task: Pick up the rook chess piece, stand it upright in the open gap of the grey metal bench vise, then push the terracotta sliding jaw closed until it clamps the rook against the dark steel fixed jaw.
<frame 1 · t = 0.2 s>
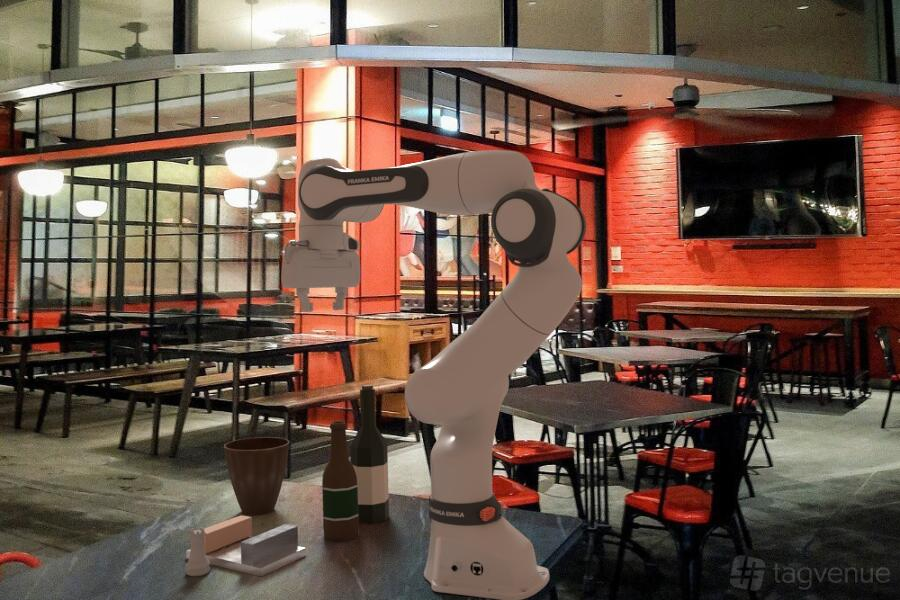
hand: (323, 310, 150), 48 cm above the table, fingers open, 8 cm apart
plant pot: (258, 511, 177), on the table
beer bottle 2: (341, 537, 157), on the table
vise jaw: (224, 533, 149), point 4 cm above the table, slide at 0.0 cm
rook chess piece: (198, 573, 139), on the table
vise base: (246, 556, 146), on the table
wine bottle: (370, 518, 169), on the table
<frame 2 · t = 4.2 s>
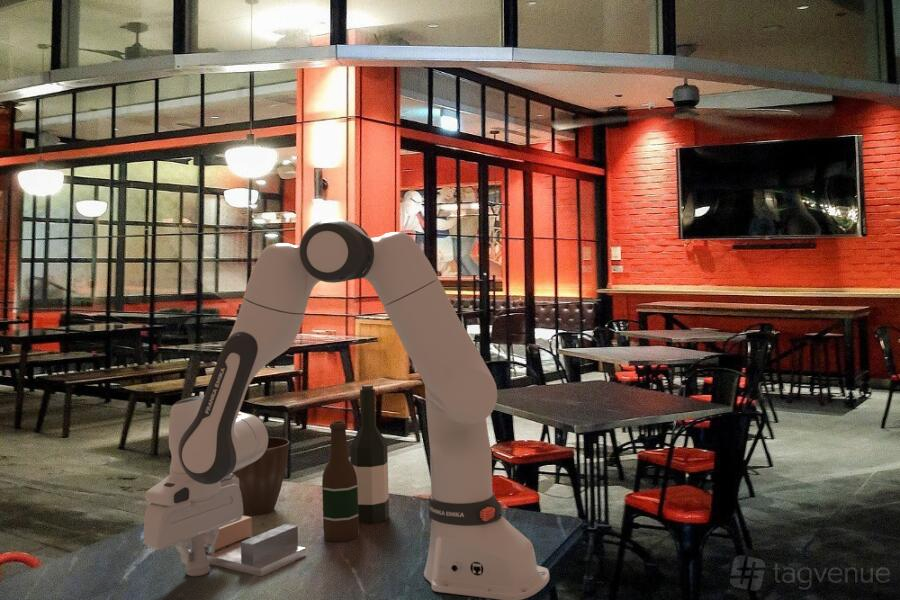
hand: (197, 557, 139), 3 cm above the table, fingers closed on rook chess piece, 3 cm apart
rook chess piece: (198, 573, 139), on the table, touching gripper
everything else where it was.
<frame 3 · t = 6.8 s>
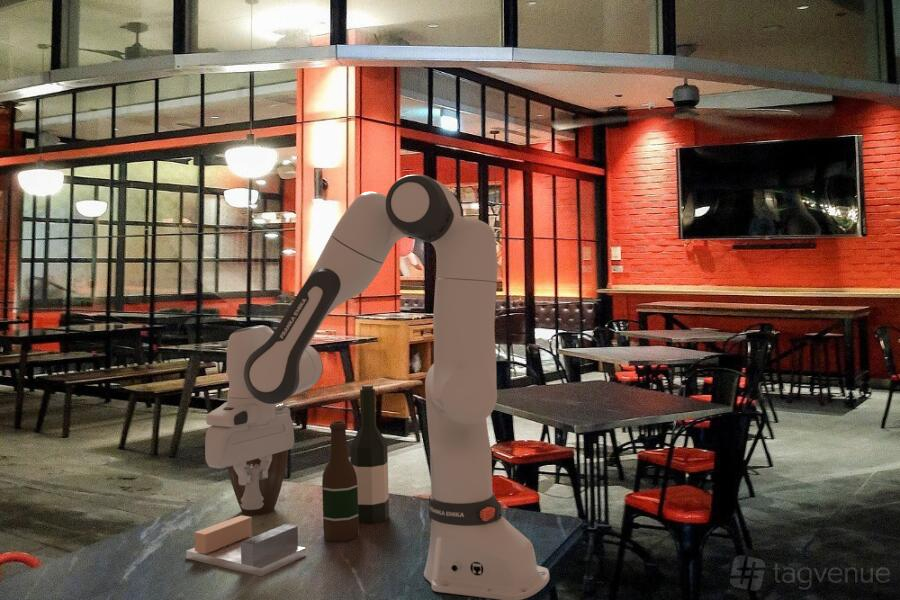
hand: (253, 481, 145), 15 cm above the table, fingers closed on rook chess piece, 3 cm apart
rook chess piece: (252, 508, 144), point 10 cm above the table, touching gripper
everything else where it was.
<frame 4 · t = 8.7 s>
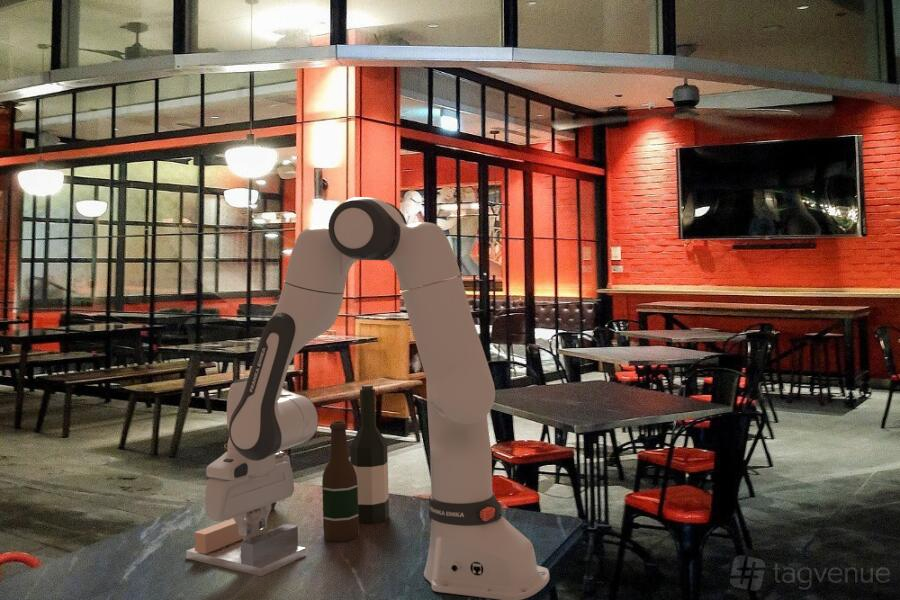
hand: (253, 531, 145), 5 cm above the table, fingers closed on rook chess piece, 3 cm apart
rook chess piece: (252, 552, 144), point 1 cm above the table, touching gripper, vise base
everything else where it was.
when the fingers open (5 cm above the table, at t = 8.7 s): rook chess piece stays where it is, resting on vise base.
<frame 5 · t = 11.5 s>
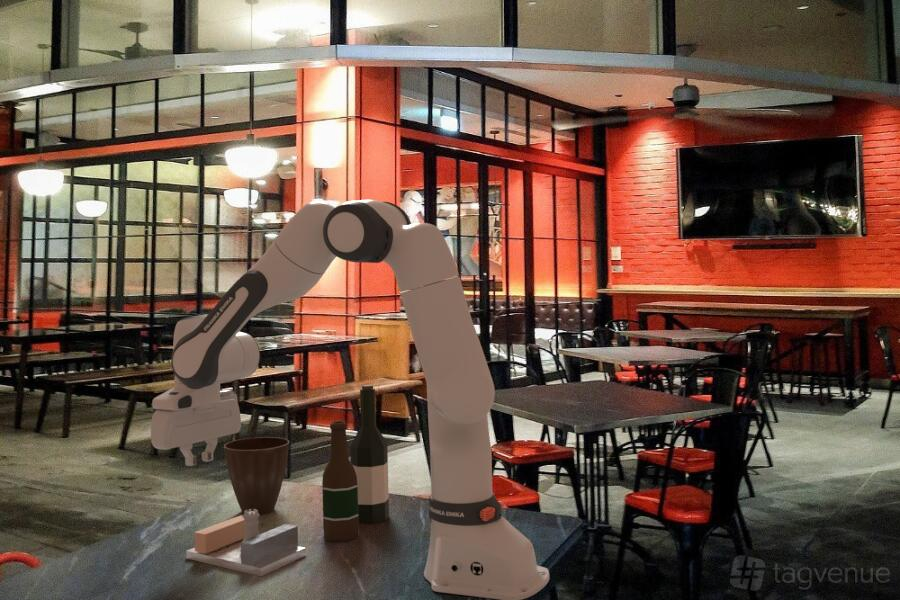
hand: (199, 463, 152), 17 cm above the table, fingers open, 3 cm apart
rook chess piece: (252, 553, 144), point 1 cm above the table, touching vise base
everything else where it was.
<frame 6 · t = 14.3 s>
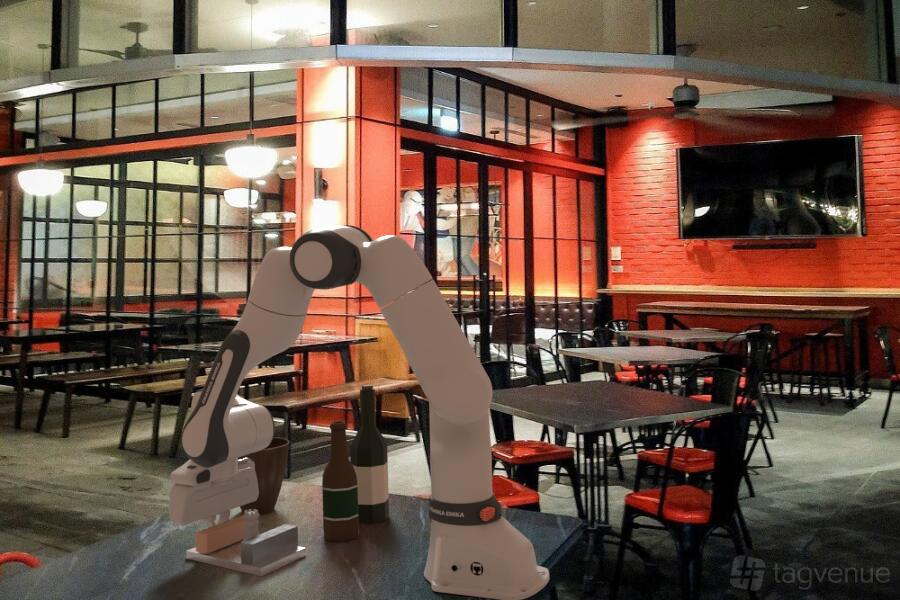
hand: (217, 534, 150), 3 cm above the table, fingers closed, pressing on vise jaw
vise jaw: (225, 533, 149), point 4 cm above the table, slide at 0.3 cm, touching gripper
everything else where it was.
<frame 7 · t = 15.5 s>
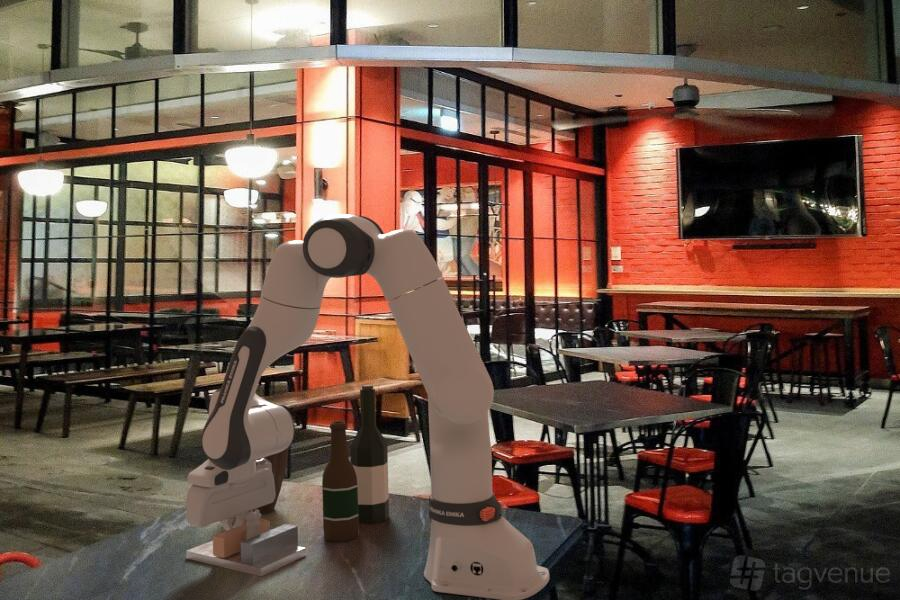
hand: (234, 536, 148), 3 cm above the table, fingers closed, pressing on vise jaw
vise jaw: (242, 537, 147), point 4 cm above the table, slide at 5.0 cm, touching gripper, rook chess piece
rook chess piece: (254, 553, 144), point 1 cm above the table, touching vise base, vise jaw
everything else where it was.
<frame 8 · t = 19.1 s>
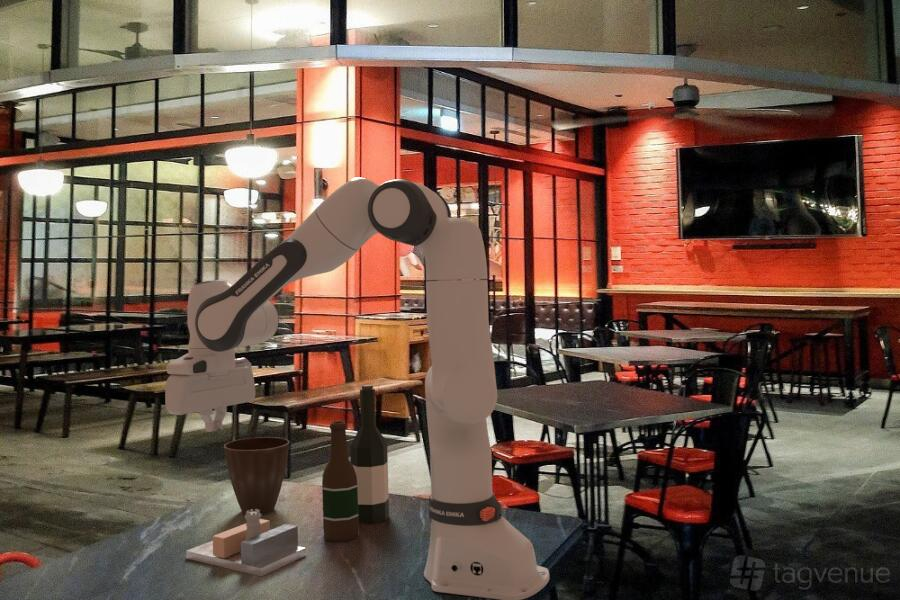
hand: (213, 430, 150), 24 cm above the table, fingers closed
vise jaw: (242, 537, 147), point 4 cm above the table, slide at 5.0 cm
rook chess piece: (254, 553, 144), point 1 cm above the table, touching vise base
everything else where it was.
at the end: rook chess piece 0.6 cm from the target spot on the vise base, point 1.3 cm above the vise base's base; rook chess piece tilted 0°; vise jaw slide at 5.0 cm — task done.
